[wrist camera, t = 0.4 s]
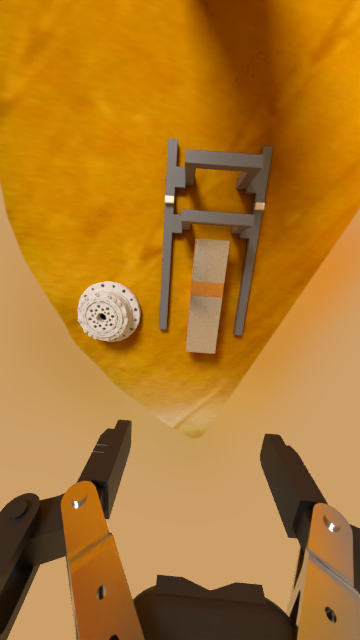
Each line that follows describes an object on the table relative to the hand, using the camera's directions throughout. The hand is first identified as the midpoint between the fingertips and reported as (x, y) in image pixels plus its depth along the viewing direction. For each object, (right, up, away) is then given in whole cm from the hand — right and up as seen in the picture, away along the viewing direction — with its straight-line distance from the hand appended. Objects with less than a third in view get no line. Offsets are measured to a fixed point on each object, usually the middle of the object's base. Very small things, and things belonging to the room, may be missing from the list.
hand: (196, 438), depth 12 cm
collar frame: (+3, +18, +19) cm, 26 cm away
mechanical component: (-12, +9, +22) cm, 27 cm away
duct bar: (+3, +11, +21) cm, 24 cm away
